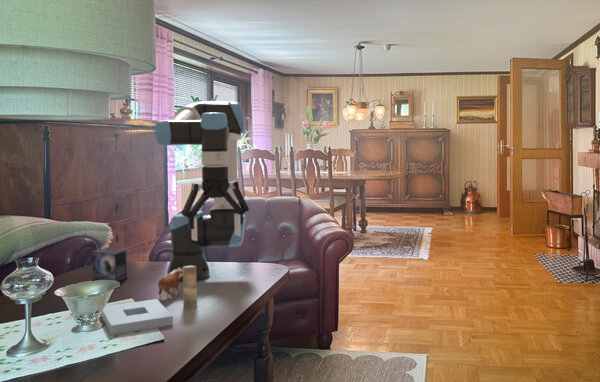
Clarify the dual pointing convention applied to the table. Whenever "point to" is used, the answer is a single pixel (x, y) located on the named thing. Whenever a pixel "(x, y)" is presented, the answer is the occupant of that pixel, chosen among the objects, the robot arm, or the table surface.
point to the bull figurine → (170, 283)
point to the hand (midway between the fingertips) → (216, 237)
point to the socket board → (136, 316)
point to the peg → (189, 287)
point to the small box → (109, 264)
